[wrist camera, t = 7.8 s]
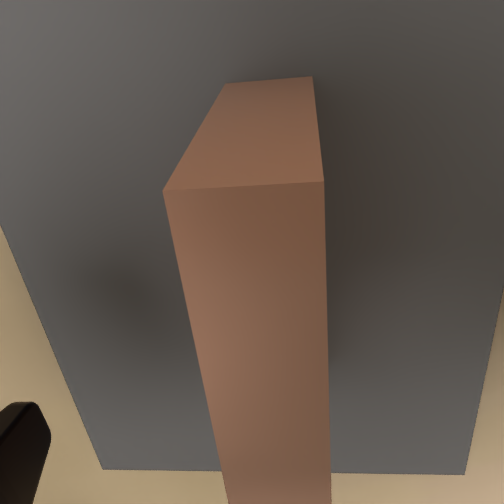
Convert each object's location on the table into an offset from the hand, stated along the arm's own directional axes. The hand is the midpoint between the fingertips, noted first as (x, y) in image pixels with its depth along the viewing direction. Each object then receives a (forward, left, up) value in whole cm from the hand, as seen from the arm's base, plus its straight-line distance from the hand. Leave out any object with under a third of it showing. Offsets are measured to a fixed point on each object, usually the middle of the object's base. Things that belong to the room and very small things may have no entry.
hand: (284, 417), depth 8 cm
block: (0, 0, -6) cm, 6 cm away
